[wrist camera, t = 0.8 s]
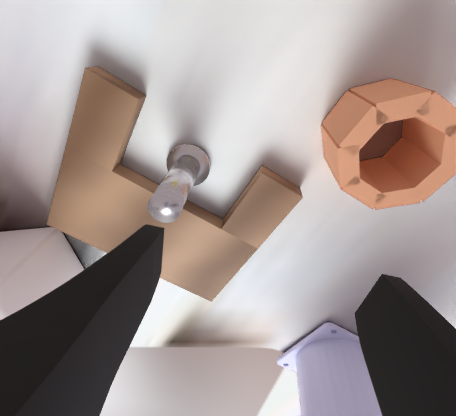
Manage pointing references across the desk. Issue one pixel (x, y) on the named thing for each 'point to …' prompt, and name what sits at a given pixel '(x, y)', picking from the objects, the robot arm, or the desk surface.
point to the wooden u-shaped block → (144, 189)
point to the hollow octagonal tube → (401, 152)
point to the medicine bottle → (33, 266)
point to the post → (178, 181)
